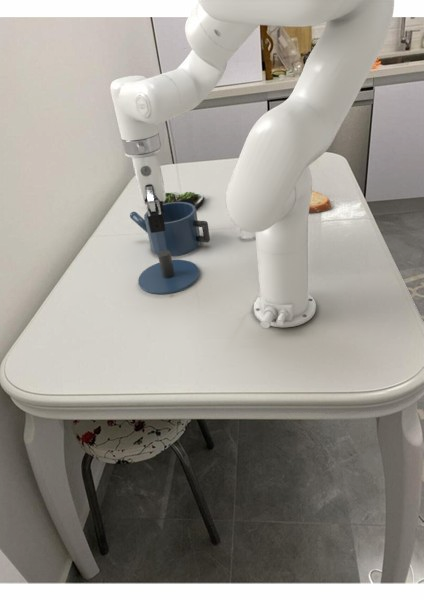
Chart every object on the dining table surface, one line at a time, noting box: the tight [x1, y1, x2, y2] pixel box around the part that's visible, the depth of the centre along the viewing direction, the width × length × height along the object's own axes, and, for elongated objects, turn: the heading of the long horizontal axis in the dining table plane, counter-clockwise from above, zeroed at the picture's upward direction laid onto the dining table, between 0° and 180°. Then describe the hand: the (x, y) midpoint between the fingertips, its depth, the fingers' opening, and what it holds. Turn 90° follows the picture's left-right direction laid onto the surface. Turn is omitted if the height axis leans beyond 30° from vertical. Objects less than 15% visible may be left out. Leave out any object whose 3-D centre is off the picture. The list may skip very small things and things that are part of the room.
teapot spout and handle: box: [129, 211, 211, 243], centre depth 117 cm, size 2×23×8 cm, turn 67°
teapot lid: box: [138, 250, 200, 295], centre depth 104 cm, size 15×15×7 cm
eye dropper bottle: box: [239, 228, 256, 240], centre depth 115 cm, size 4×6×12 cm
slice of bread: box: [309, 190, 333, 214], centre depth 132 cm, size 18×18×4 cm
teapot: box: [143, 202, 202, 258], centre depth 117 cm, size 14×14×10 cm
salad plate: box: [162, 191, 205, 210], centre depth 142 cm, size 19×18×5 cm
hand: (157, 222), depth 98 cm, fingers open, 9 cm apart
